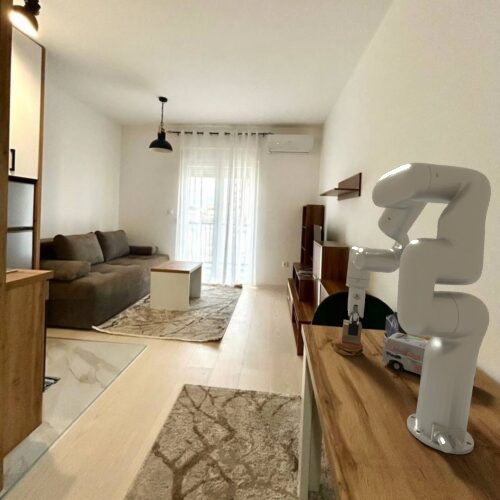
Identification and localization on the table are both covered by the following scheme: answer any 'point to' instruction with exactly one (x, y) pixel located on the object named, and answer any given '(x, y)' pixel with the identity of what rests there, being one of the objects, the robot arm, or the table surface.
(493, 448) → the table surface
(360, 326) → the light brown cube
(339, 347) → the burger
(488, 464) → the table surface
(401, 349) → the toy car
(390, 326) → the decorative emblem
